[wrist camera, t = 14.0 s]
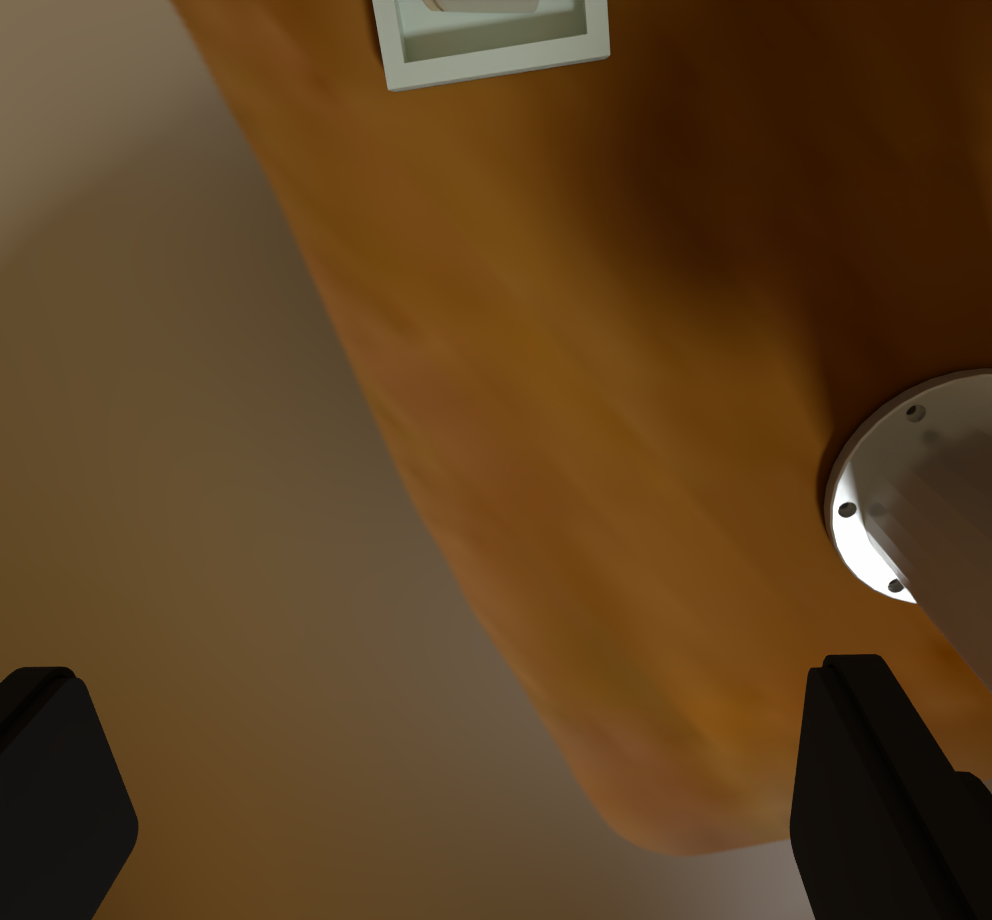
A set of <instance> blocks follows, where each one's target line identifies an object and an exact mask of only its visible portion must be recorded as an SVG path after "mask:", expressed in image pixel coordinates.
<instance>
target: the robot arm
mask: <svg viewBox="0 0 992 920" xmlns="http://www.w3.org/2000/svg"><path fill="white" fill-rule="evenodd" d="M910 407H911V408H910ZM909 408H910V409H909ZM908 409H909V410H908ZM907 410H908V411H907ZM824 516H825V525H826V530H827V533H828V535H829V538H830V541H831V544H832V546H833V548H834V549H835V551H836V552H837V554H838V555H839V557H840V558H841V560H842V561H843V563H844V564H845V565H846V566H847V568H848V569H849V570H850V571H851V572H852V573H853V575H854V576H855V577H856V578H857V579H859V580H860V581H861V582H863V583H864V584H866V585H867V586H868V587H870V588H871V589H872V590H874V591H876V592H879V593H881V594H883V595H885V596H887V597H890V598H893V599H897V600H901V601H905V602H909V603H915V604H918V605H919V606H920V607H921V608H922V610H923V611H924V612H925V613H926V614H927V616H928V617H929V618H930V619H931V621H932V622H933V623H934V624H935V625H936V627H937V628H938V629H939V630H940V632H941V633H942V634H943V635H944V636H945V638H946V639H947V640H948V641H949V643H950V644H951V645H952V646H953V647H954V649H955V650H956V651H957V652H958V654H959V655H960V656H961V657H962V658H963V660H964V661H965V662H966V663H967V665H968V666H969V667H970V668H971V669H972V671H973V672H974V673H975V674H976V676H977V677H978V678H979V679H980V680H981V682H982V683H983V684H984V685H985V687H986V688H987V689H988V690H989V691H990V693H991V694H992V368H983V369H973V370H964V371H957V372H954V373H950V374H947V375H943V376H939V377H936V378H932V379H930V380H927V381H925V382H923V383H921V384H919V385H916V386H914V387H912V388H910V389H908V390H905V391H904V392H902V393H901V394H899V395H898V396H896V397H895V398H893V399H892V400H890V401H888V402H887V403H885V404H884V405H882V406H881V407H880V408H879V409H878V410H877V411H875V412H874V413H873V414H872V415H871V416H870V417H869V418H868V419H866V420H865V421H864V422H863V423H862V424H861V425H860V426H859V428H858V429H857V430H856V431H855V433H854V434H853V435H852V436H851V437H850V439H849V440H848V441H847V442H846V444H845V445H844V447H843V449H842V451H841V452H840V454H839V456H838V458H837V460H836V461H835V463H834V465H833V468H832V471H831V474H830V477H829V480H828V483H827V486H826V491H825V500H824ZM137 835H138V820H137V816H136V814H135V811H134V808H133V806H132V803H131V801H130V798H129V795H128V793H127V790H126V788H125V785H124V783H123V780H122V777H121V775H120V773H119V770H118V767H117V764H116V762H115V759H114V757H113V754H112V752H111V749H110V746H109V744H108V741H107V739H106V736H105V734H104V731H103V728H102V726H101V723H100V721H99V718H98V716H97V713H96V711H95V708H94V705H93V703H92V700H91V697H90V695H89V692H88V690H87V687H86V685H85V683H84V682H83V681H82V680H81V679H79V678H76V676H75V674H74V673H73V671H71V670H70V669H69V668H67V667H23V668H19V669H16V670H15V671H14V672H12V673H11V674H9V675H8V676H7V677H6V678H5V679H4V680H3V681H2V682H1V683H0V920H91V919H92V918H93V916H94V914H95V913H96V911H97V909H98V908H99V906H100V904H101V903H102V901H103V899H104V897H105V895H106V894H107V892H108V891H109V889H110V887H111V886H112V884H113V882H114V880H115V879H116V877H117V875H118V874H119V872H120V870H121V869H122V867H123V865H124V864H125V862H126V860H127V859H128V857H129V855H130V853H131V852H132V850H133V848H134V846H135V843H136V840H137ZM790 838H791V845H792V849H793V853H794V857H795V860H796V863H797V866H798V869H799V872H800V875H801V878H802V881H803V884H804V887H805V890H806V893H807V896H808V899H809V902H810V905H811V908H812V911H813V914H814V917H815V919H816V920H992V794H991V792H990V791H989V790H988V789H987V787H986V786H985V785H984V784H983V783H982V781H981V780H980V779H979V778H977V777H976V776H974V775H973V774H971V773H970V772H961V771H955V770H954V769H953V767H952V766H951V764H950V763H949V761H948V759H947V758H946V756H945V755H944V753H943V752H942V750H941V748H940V747H939V745H938V744H937V742H936V741H935V739H934V737H933V736H932V734H931V733H930V731H929V730H928V728H927V726H926V725H925V723H924V722H923V720H922V719H921V717H920V716H919V714H918V712H917V711H916V709H915V708H914V706H913V705H912V703H911V701H910V700H909V698H908V697H907V695H906V694H905V692H904V690H903V689H902V687H901V686H900V684H899V683H898V681H897V679H896V678H895V676H894V675H893V673H892V672H891V670H890V668H889V667H888V665H887V664H886V662H885V661H884V660H883V659H882V657H881V656H879V655H877V654H858V655H828V656H826V657H825V659H824V661H823V665H822V667H820V668H810V670H809V672H808V677H807V685H806V693H805V701H804V710H803V718H802V726H801V734H800V743H799V751H798V759H797V767H796V776H795V784H794V792H793V801H792V809H791V817H790Z"/></svg>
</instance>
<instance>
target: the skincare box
mask: <svg viewBox="0 0 992 920" xmlns="http://www.w3.org/2000/svg"><path fill="white" fill-rule="evenodd" d="M422 1H423V2H424V4H425V5H426V6H427V7H428V8H429V10H431V11H442V12H462V13H533V12H535V11H536V10H537V8H538V3H539V0H422Z"/></svg>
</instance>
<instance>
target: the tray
mask: <svg viewBox="0 0 992 920" xmlns="http://www.w3.org/2000/svg"><path fill="white" fill-rule="evenodd" d="M372 2H373V7H374V13H375V19H376V24H377V30H378V36H379V41H380V47H381V53H382V59H383V64H384V70H385V76H386V81H387V87H388V90H391V91H394V92H399V91H405V90H411V89H418V88H424V87H431V86H437V85H443V84H450V83H456V82H463V81H469V80H476V79H482V78H488V77H495V76H501V75H508V74H514V73H520V72H527V71H533V70H540V69H546V68H553V67H559V66H565V65H572V64H578V63H585V62H591V61H598V60H604V59H607V58H608V57H609V56H610V41H609V25H608V8H607V0H539V3H538V8H537V10H536V11H535V12H533V13H462V12H442V11H431V10H429V8H428V7H427V6H426V5H425V4H424V2H423V1H422V0H372Z"/></svg>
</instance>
